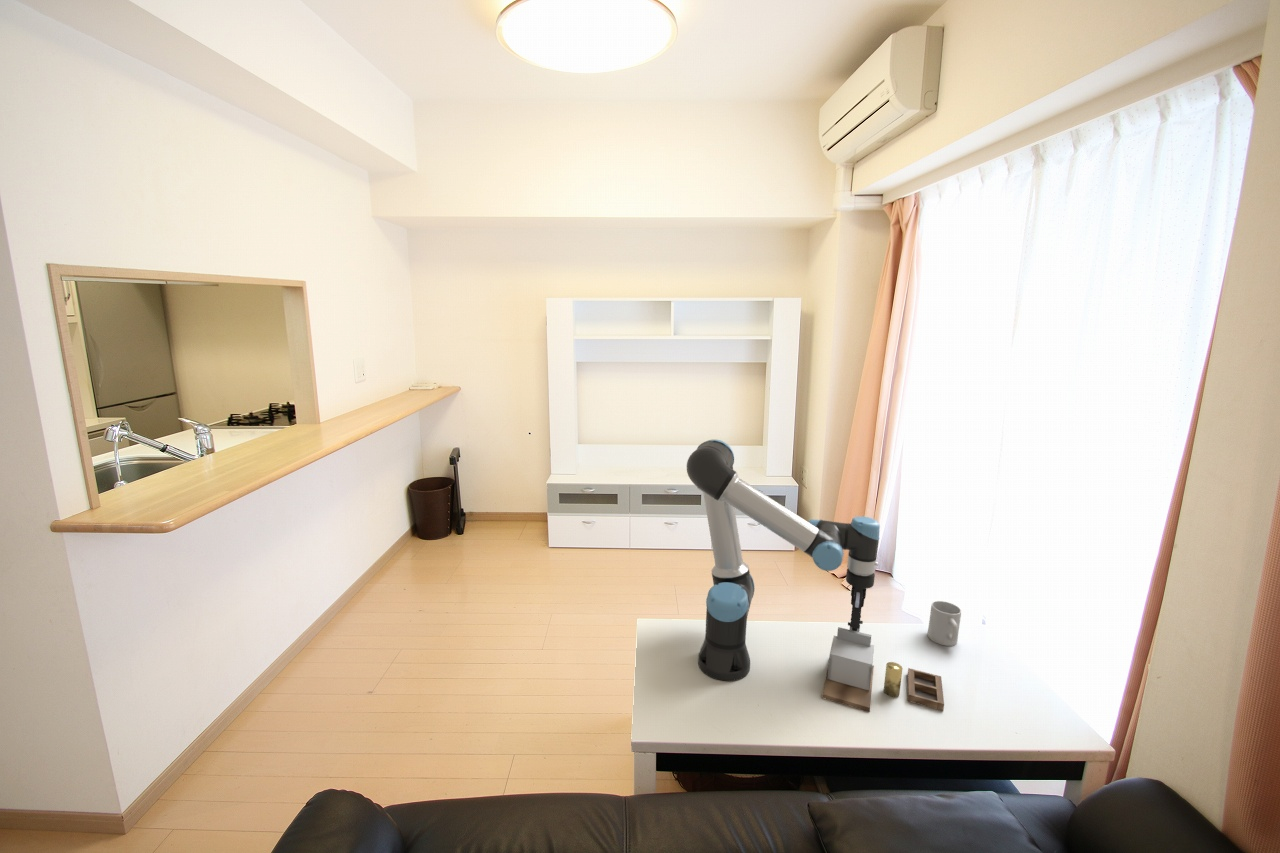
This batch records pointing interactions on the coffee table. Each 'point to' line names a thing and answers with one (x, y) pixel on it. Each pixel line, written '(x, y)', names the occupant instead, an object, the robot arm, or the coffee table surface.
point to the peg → (892, 679)
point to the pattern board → (847, 694)
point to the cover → (851, 658)
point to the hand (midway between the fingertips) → (852, 644)
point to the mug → (944, 623)
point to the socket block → (925, 689)
